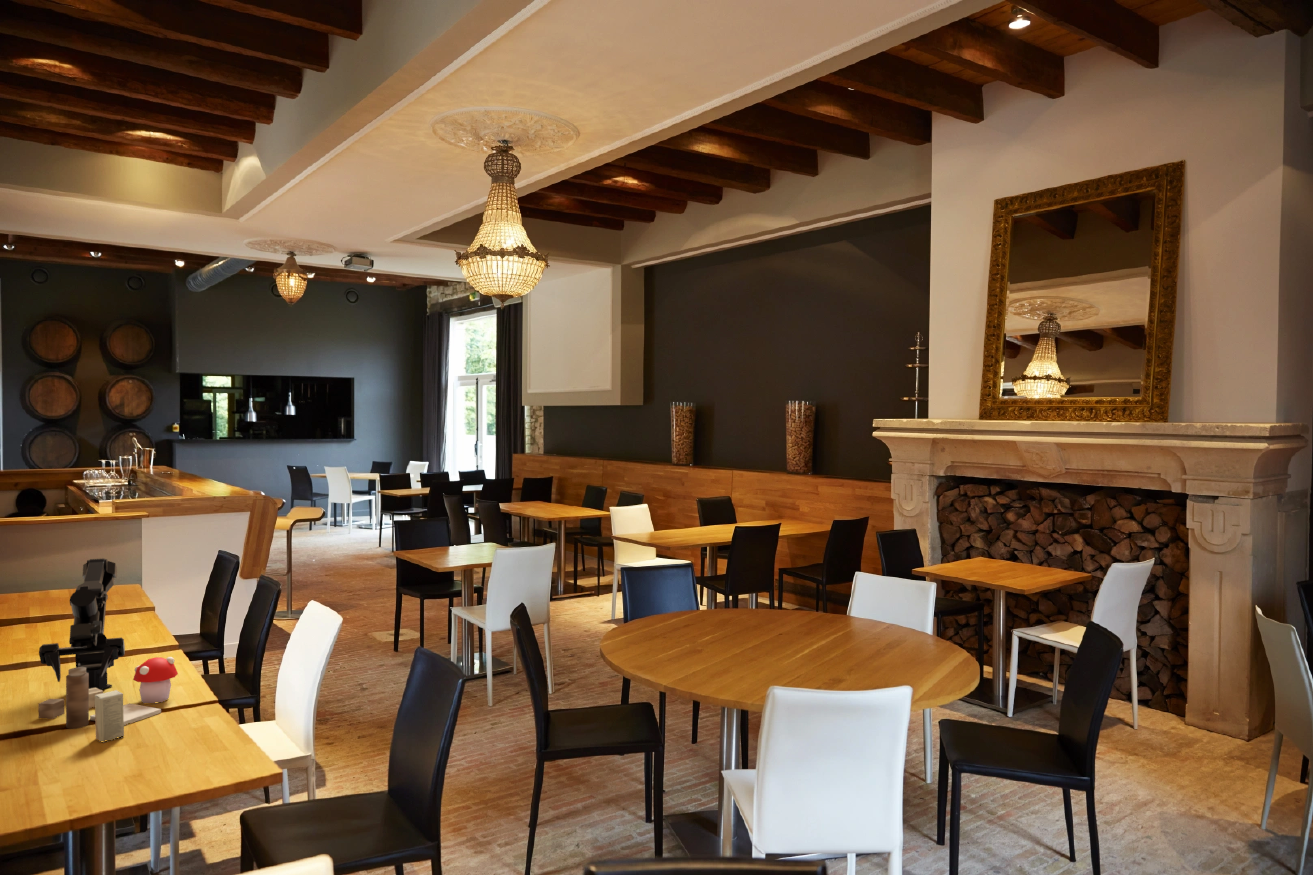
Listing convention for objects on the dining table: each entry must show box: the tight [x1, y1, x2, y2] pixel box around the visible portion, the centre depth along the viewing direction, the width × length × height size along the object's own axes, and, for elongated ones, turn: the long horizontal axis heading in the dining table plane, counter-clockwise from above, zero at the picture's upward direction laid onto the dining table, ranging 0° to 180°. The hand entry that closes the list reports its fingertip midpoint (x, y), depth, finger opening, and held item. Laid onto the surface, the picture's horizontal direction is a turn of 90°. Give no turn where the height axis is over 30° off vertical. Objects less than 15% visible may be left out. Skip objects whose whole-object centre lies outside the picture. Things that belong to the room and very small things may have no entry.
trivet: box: [89, 702, 162, 726], centre depth 227 cm, size 12×11×1 cm
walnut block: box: [38, 698, 65, 720], centre depth 227 cm, size 4×4×4 cm
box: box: [94, 689, 125, 742], centre depth 211 cm, size 5×4×11 cm
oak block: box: [89, 688, 104, 709], centre depth 235 cm, size 5×4×4 cm
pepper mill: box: [65, 666, 90, 730], centre depth 220 cm, size 5×5×14 cm
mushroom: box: [132, 656, 179, 704], centre depth 240 cm, size 11×11×12 cm
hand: (79, 678), depth 223 cm, fingers open, 9 cm apart
